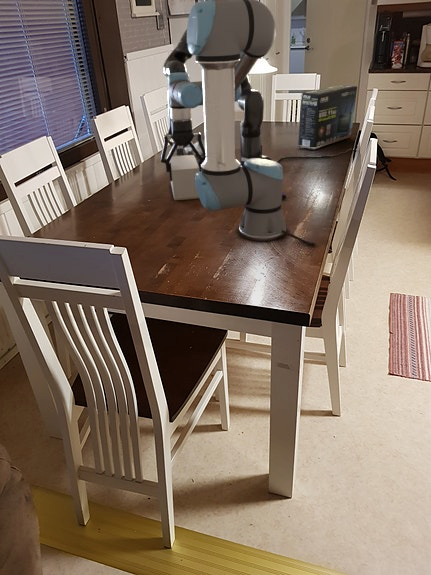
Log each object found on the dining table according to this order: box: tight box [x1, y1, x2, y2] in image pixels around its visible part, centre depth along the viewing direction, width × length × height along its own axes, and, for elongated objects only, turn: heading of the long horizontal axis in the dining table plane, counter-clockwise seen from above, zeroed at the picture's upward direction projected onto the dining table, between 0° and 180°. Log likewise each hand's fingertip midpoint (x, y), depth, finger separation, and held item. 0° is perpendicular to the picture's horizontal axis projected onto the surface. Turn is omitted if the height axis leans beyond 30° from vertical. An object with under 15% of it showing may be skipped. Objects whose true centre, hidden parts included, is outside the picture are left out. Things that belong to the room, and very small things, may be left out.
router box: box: [297, 84, 358, 151], centre depth 238 cm, size 36×11×27 cm, turn 134°
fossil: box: [184, 137, 206, 156], centre depth 236 cm, size 18×11×15 cm
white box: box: [170, 154, 200, 201], centre depth 184 cm, size 20×10×12 cm, turn 8°
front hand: (185, 178), depth 178 cm, fingers closed on white box, 10 cm apart
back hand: (180, 157), depth 195 cm, fingers closed
